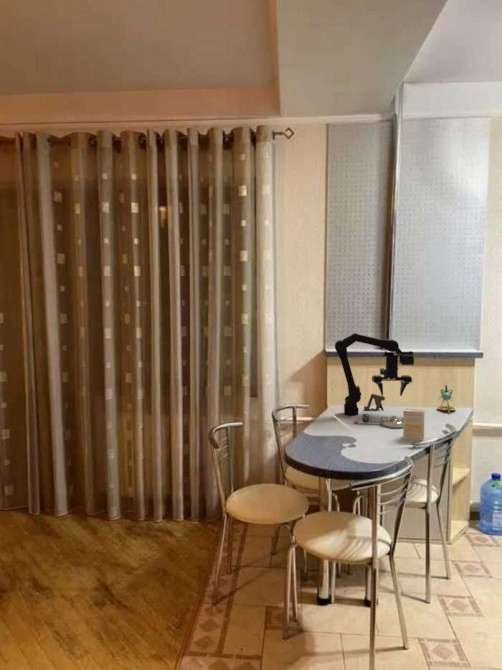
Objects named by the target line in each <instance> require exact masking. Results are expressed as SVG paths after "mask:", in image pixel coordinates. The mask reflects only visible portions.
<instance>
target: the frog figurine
mask: <svg viewBox="0 0 502 670" xmlns="http://www.w3.org/2000/svg"><path fill="white" fill-rule="evenodd" d="M453 392H454V390H452V389H450V390H448V384H445V388H444V389H440V394H441V396H440V397H439V400H441V398H442V403H441V405H440V406H437V407H436V409H438V410H439V411H446V412H445V413H446V414H447V415H452V412H451V411H456V409H457V408H456V407H455V406H452V405H449V403H447V405H446V406H445V405H443V404H444V402H445V401H446V402H448V401H450V400H451V401H453V398H452V395H453Z"/></svg>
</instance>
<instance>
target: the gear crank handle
mask: <svg viewBox="0 0 502 670" xmlns="http://www.w3.org/2000/svg"><path fill="white" fill-rule="evenodd" d="M362 423H366V424H369V423H370V424H371V423H372V424H373V423H374V424H380V425H381V426H382V427H384V428H388V429H398V430H399V429H403V416H402V417H400V418H399V417H397V415H391V417H388V416H382V417H381V419H380V420H375V419H370V414H369V413H362Z"/></svg>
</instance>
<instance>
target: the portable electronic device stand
mask: <svg viewBox="0 0 502 670" xmlns="http://www.w3.org/2000/svg"><path fill="white" fill-rule="evenodd" d="M385 400H386V397H385V396H384V395H383V396H382V395H378V394H374V393H371V394H370V397H369V400H368V402H367V406H366V405H364V407H363V410H364V411H367V412H378V411H379V410H381V411H384V407H383V404H382V401H385ZM372 401H374V403H375V406H376V407H375V408H373V407H371V405H372ZM370 407H371V408H370Z"/></svg>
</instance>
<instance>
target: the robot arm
mask: <svg viewBox="0 0 502 670" xmlns="http://www.w3.org/2000/svg"><path fill="white" fill-rule="evenodd" d="M356 342H358V343H362V344H366V345H369V346H376V347H379V348H381V349H384V350H385V351H384V352H383V353H382V354H381V355H382V357H385V367H384V368H383V367H381V368H379V374H377V375H374V374H373V375H372V376H371V382H372V383H375V385H377V386H378V389H379V392H380V396H384V387H383V385H384V384H383V382H389V381H390V382H393V381H394V382H395V381H396V382H397V381H398V382H399V381H400V388H399V389H400V391H399V395H400V397H402V396H403V393H404V391H405V389H406V387H407V386H408V385H410V383H413V377H412V376H410V375H408V374H406V375H404V374H402V375H401V376H399V374H398V371H399V364H400V365H401V366H414V363H415V358H414V351H402V350H401V349H400V347H399V342H398V341H396V340H395V339H392V338H391V339H389V338H387V339H386V338H384V339H383V338H378V337H377V338H376V337H372V336H367V335H364V334H361V333H360V334H359V333H356V332H353V333H352V334H351V335H349V336H347V337H345V338H343V339H342V340H341V339H339V340H336V341H335V343H334V349H335V351H336V354H337V355H338V357H339V359H340V362H341V365H342V369H343V372H344V376H345V380H346V383H347V392H348V394H347V396H346V397H345V398H344V404H343V415H344V416H348V417H355V416H359V406H358V403H359V402H360V401H361V398H362V392H361V389H360V385H356V383H355V380H354V376H353V372H352V368H351V365H350V362H349V357H348V347H350V346H351V345H353V344H355V343H356ZM395 353H396V354H395Z"/></svg>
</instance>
